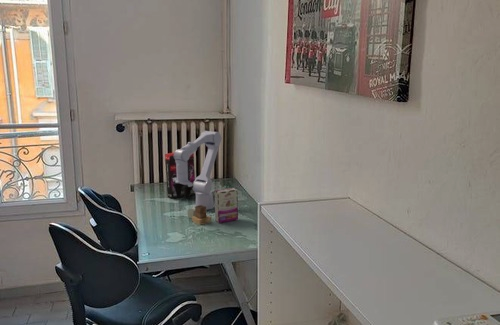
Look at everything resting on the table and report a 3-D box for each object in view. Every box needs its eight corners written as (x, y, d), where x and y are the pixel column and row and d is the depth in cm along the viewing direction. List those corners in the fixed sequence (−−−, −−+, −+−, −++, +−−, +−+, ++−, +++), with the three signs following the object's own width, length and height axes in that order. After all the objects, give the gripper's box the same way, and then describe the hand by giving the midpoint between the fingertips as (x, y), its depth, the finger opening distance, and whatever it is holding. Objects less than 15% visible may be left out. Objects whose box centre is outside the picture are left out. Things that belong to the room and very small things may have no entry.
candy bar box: (234, 217, 229) (233, 187, 225) (238, 220, 225) (238, 189, 221) (214, 220, 224) (214, 190, 220) (218, 223, 219) (217, 192, 216)
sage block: (192, 215, 232) (192, 208, 232) (198, 216, 230) (198, 209, 229) (187, 217, 229) (187, 210, 228) (193, 218, 227) (193, 211, 226)
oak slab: (203, 219, 227) (203, 213, 227) (211, 222, 222) (211, 217, 222) (192, 222, 223) (192, 216, 223) (199, 225, 218) (199, 220, 217)
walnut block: (201, 215, 225) (201, 204, 224) (206, 216, 222) (206, 206, 221) (195, 216, 222) (195, 206, 221) (200, 218, 219) (199, 208, 218)
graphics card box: (171, 199, 260) (169, 155, 254) (166, 197, 265) (164, 153, 259) (196, 194, 270) (194, 151, 265) (190, 192, 276) (188, 150, 270)
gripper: (167, 171, 228) (168, 195, 231) (183, 175, 218) (184, 201, 221) (179, 169, 233) (180, 193, 236) (195, 173, 223) (195, 199, 226)
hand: (182, 197), depth 229 cm, fingers open, 7 cm apart
